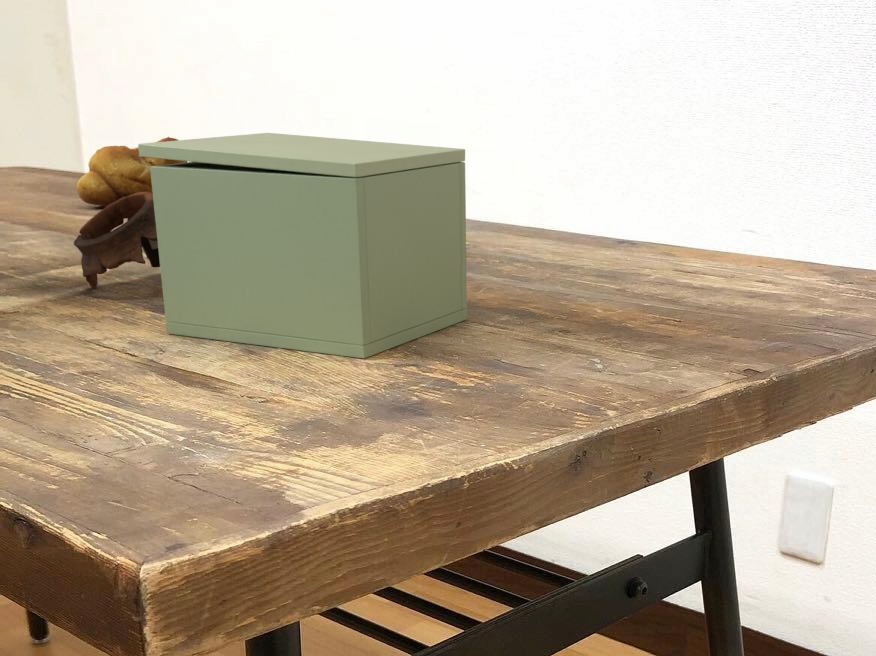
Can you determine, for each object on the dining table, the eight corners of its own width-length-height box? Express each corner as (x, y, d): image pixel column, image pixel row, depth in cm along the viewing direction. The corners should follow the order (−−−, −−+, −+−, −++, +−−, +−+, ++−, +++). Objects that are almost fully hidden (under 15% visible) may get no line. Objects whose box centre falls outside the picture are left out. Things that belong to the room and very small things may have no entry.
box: (166, 333, 83) (149, 166, 79) (287, 299, 94) (277, 152, 90) (364, 358, 77) (356, 178, 73) (467, 319, 88) (465, 162, 84)
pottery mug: (224, 300, 96) (162, 210, 91) (119, 354, 97) (52, 267, 92) (225, 238, 106) (170, 154, 100) (130, 288, 107) (70, 207, 101)
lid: (138, 156, 79) (137, 143, 79) (267, 144, 90) (267, 132, 90) (356, 177, 73) (356, 163, 72) (465, 161, 84) (465, 149, 84)
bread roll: (83, 211, 143) (74, 139, 140) (72, 202, 151) (63, 134, 148) (196, 207, 148) (189, 137, 145) (179, 198, 156) (173, 132, 153)
